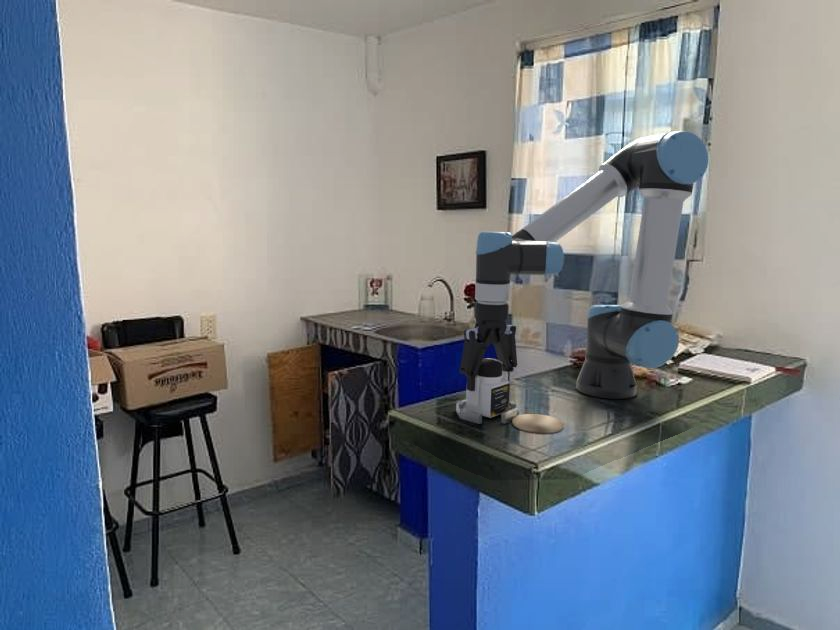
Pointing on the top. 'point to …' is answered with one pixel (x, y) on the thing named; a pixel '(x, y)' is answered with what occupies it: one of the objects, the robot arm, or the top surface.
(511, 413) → the collar
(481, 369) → the medicine bottle
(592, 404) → the top surface
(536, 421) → the disc
